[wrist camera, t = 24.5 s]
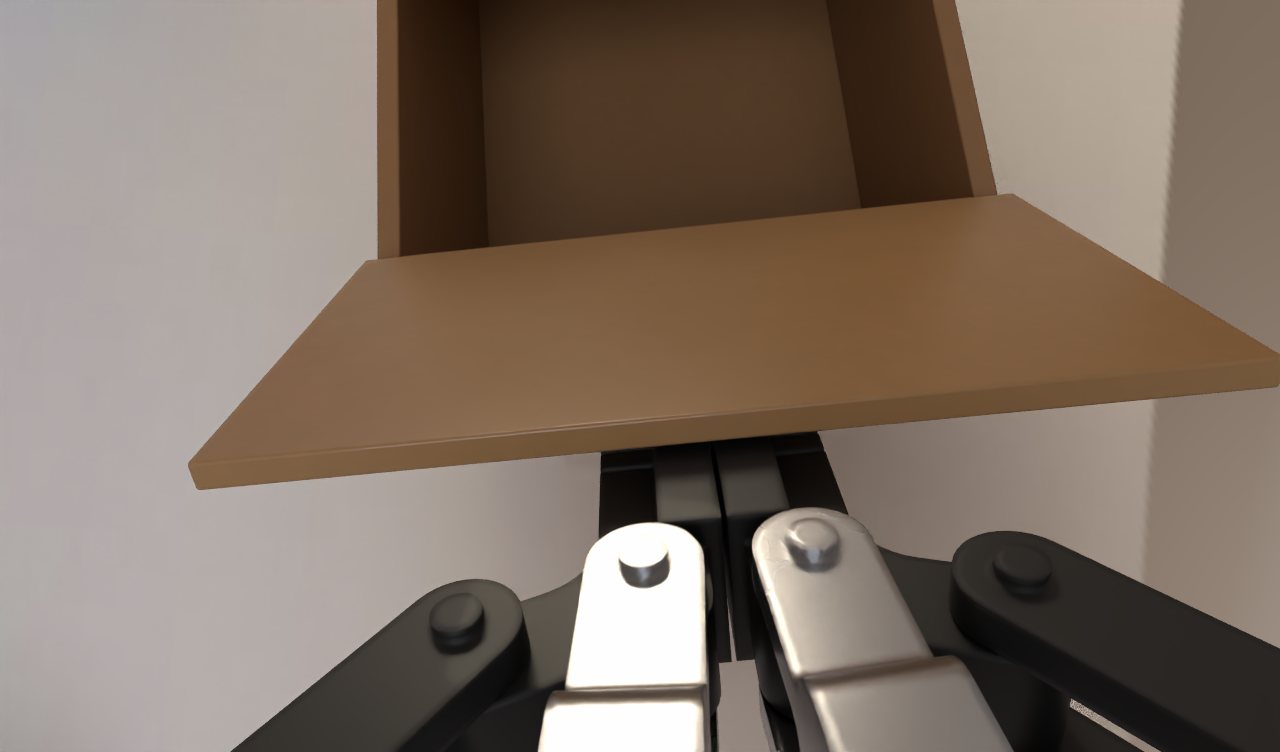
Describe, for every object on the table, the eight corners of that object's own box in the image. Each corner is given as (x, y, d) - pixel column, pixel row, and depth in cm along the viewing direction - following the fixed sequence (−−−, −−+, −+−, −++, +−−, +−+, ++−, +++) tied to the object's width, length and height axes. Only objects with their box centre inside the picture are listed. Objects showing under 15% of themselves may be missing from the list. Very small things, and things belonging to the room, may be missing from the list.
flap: (1013, 192, 17) (1011, 212, 17) (365, 259, 17) (369, 278, 18) (1288, 356, 10) (1280, 388, 10) (185, 464, 10) (195, 491, 11)
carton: (897, 352, 27) (1017, 196, 17) (482, 393, 27) (362, 264, 17) (823, -70, 31) (884, -390, 21) (467, -30, 32) (364, -324, 22)
